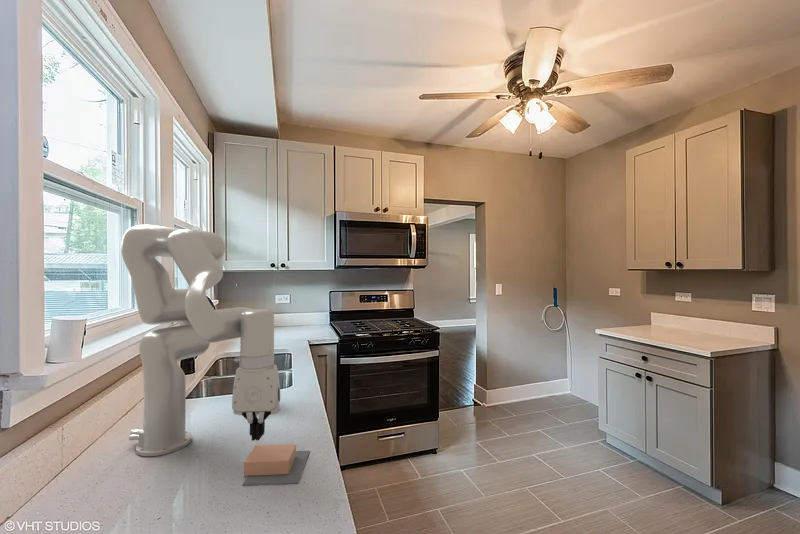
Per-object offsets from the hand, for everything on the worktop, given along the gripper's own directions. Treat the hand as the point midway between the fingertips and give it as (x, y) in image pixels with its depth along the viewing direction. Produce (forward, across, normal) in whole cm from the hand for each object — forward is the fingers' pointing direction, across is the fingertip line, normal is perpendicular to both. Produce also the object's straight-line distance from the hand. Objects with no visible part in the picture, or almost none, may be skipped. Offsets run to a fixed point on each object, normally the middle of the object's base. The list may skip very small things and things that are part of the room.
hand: (257, 437), depth 84 cm
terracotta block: (+5, -2, 0) cm, 5 cm away
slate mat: (+7, +5, 0) cm, 9 cm away
